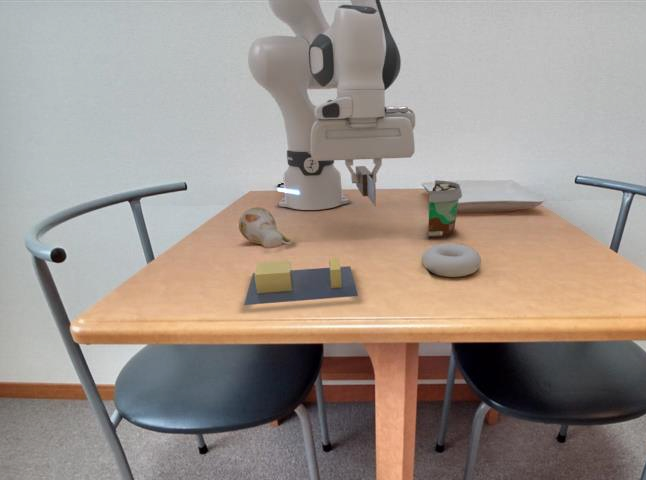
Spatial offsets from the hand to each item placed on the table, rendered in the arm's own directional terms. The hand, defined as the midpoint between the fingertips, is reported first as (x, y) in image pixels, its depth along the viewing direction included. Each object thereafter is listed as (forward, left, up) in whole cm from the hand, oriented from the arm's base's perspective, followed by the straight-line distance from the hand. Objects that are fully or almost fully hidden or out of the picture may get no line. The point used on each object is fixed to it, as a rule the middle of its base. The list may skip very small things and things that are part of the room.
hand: (363, 182), depth 87 cm
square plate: (-23, +33, -11) cm, 42 cm away
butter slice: (+26, -8, -10) cm, 29 cm away
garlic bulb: (+3, -20, -11) cm, 23 cm away
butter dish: (+26, -13, -11) cm, 31 cm away
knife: (+5, 0, -1) cm, 5 cm away
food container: (+2, +17, -11) cm, 20 cm away
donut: (+22, +12, -11) cm, 27 cm away
